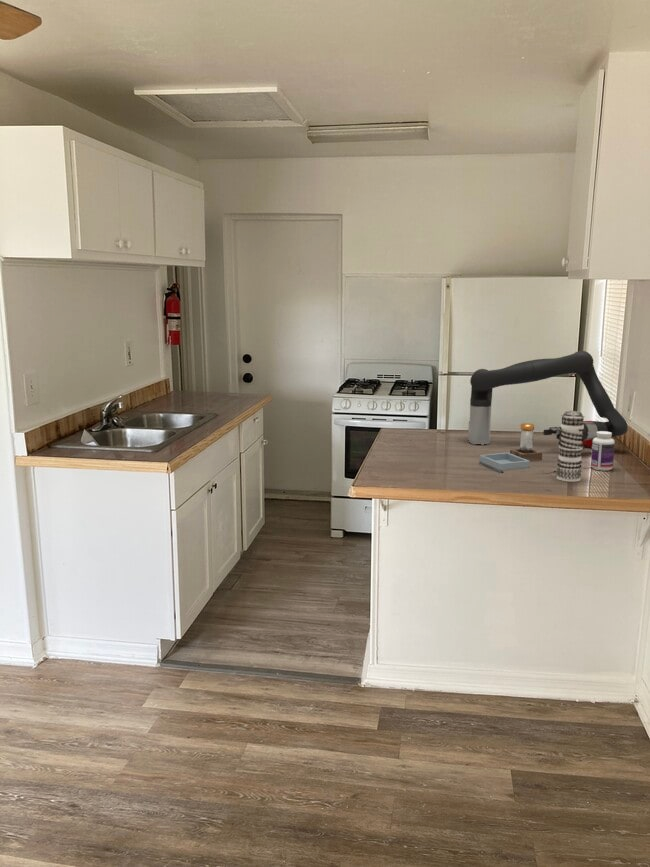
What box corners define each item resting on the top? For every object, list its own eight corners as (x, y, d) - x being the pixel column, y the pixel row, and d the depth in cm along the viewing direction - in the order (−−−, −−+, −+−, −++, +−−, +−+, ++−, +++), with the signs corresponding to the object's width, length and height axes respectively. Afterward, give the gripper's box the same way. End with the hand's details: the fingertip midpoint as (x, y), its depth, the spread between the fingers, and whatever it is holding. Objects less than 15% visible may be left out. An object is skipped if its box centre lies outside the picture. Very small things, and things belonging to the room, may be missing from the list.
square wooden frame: (509, 459, 292) (510, 449, 291) (528, 457, 295) (528, 448, 294) (522, 464, 284) (523, 454, 283) (541, 462, 287) (542, 452, 286)
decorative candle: (574, 474, 268) (578, 409, 263) (586, 481, 259) (591, 413, 254) (551, 475, 267) (555, 410, 262) (562, 482, 258) (567, 414, 253)
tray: (479, 463, 285) (479, 455, 284) (507, 460, 289) (507, 452, 289) (500, 472, 271) (501, 464, 270) (529, 469, 276) (529, 461, 275)
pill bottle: (614, 468, 278) (617, 431, 275) (609, 472, 271) (612, 435, 268) (593, 465, 282) (596, 429, 279) (588, 469, 276) (590, 433, 273)
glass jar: (516, 457, 291) (518, 423, 288) (527, 456, 292) (529, 423, 289) (524, 460, 286) (525, 426, 283) (534, 459, 288) (536, 425, 285)
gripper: (572, 419, 302) (540, 422, 297) (595, 425, 289) (562, 428, 284) (571, 436, 304) (539, 440, 298) (594, 443, 290) (561, 447, 285)
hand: (550, 434), depth 291 cm, fingers open, 8 cm apart
